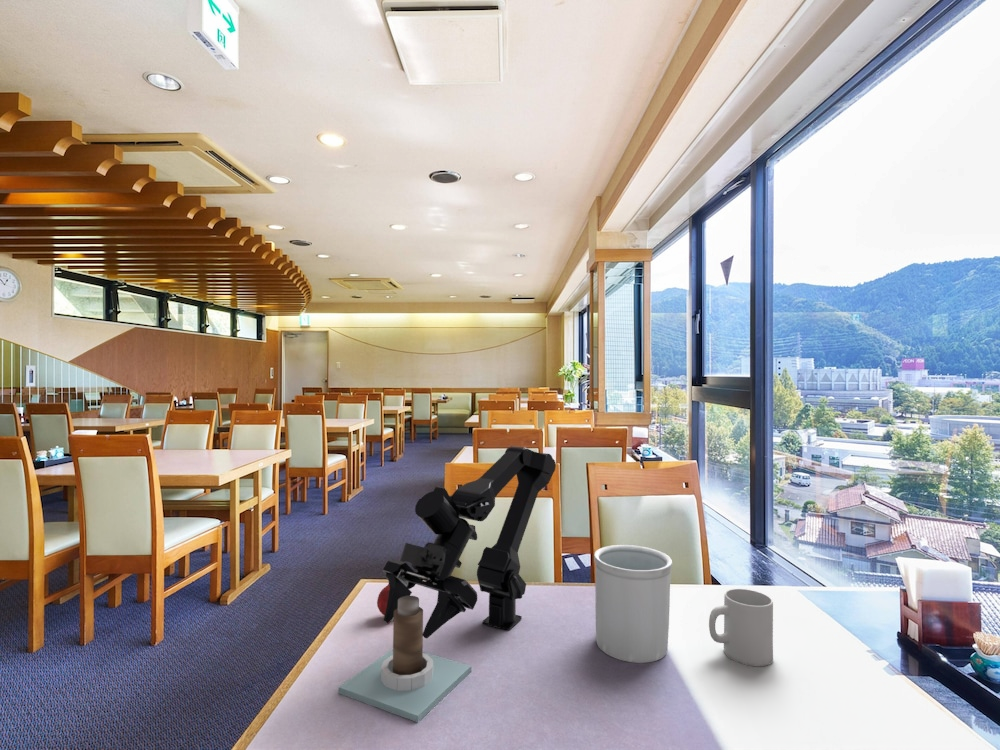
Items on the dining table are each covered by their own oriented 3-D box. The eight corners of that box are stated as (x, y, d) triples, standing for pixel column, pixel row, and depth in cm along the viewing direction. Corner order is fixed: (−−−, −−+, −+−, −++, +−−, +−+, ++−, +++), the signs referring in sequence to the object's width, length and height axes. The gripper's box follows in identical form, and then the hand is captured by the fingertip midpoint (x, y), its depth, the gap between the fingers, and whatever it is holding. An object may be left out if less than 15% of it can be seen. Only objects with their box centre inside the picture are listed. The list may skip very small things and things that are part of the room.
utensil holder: (682, 666, 98) (683, 570, 98) (601, 665, 98) (602, 569, 98) (658, 628, 113) (658, 544, 113) (587, 627, 113) (588, 544, 113)
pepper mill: (418, 665, 95) (419, 592, 95) (425, 680, 91) (426, 603, 91) (390, 671, 93) (391, 596, 94) (395, 686, 89) (396, 607, 89)
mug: (755, 642, 107) (755, 587, 107) (783, 665, 99) (783, 605, 99) (698, 646, 106) (698, 590, 106) (721, 669, 97) (722, 608, 97)
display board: (398, 649, 103) (399, 634, 103) (471, 671, 95) (471, 654, 95) (338, 693, 89) (338, 674, 89) (417, 722, 81) (418, 702, 81)
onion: (398, 625, 113) (398, 587, 113) (372, 622, 114) (372, 585, 114) (408, 613, 118) (408, 577, 119) (383, 611, 120) (384, 575, 120)
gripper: (390, 515, 101) (341, 593, 92) (467, 533, 90) (421, 623, 81) (419, 547, 108) (376, 622, 99) (494, 566, 97) (454, 653, 88)
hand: (404, 629), depth 91 cm, fingers open, 9 cm apart
